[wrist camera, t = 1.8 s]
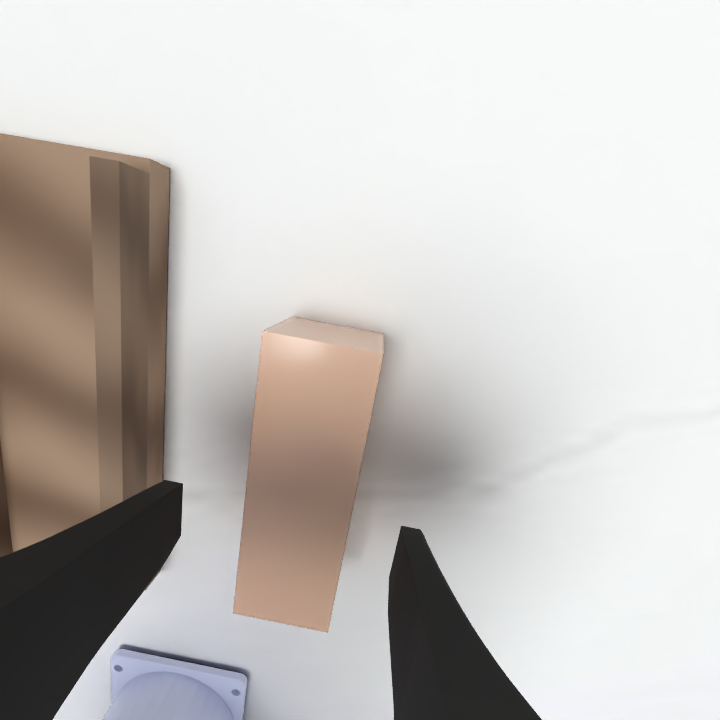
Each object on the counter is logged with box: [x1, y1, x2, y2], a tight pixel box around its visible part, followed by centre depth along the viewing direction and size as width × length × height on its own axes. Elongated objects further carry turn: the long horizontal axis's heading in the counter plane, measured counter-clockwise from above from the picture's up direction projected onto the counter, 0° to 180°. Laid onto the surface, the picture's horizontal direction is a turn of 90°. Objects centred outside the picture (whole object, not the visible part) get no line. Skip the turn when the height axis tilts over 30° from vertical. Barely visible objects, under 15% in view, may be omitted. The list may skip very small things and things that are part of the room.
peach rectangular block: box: [233, 317, 384, 632], centre depth 15 cm, size 12×4×4 cm, turn 170°
